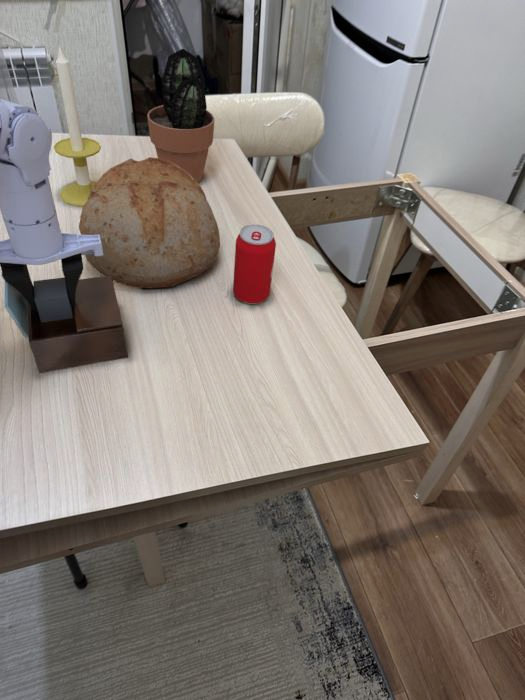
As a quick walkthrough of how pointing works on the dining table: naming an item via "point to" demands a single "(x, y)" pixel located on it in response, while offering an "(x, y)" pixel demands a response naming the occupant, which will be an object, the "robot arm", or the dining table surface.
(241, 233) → the beverage can
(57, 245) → the robot arm
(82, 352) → the box
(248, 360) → the dining table surface
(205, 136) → the potted plant
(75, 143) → the candle
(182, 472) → the dining table surface
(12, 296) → the door
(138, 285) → the bread
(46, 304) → the block
